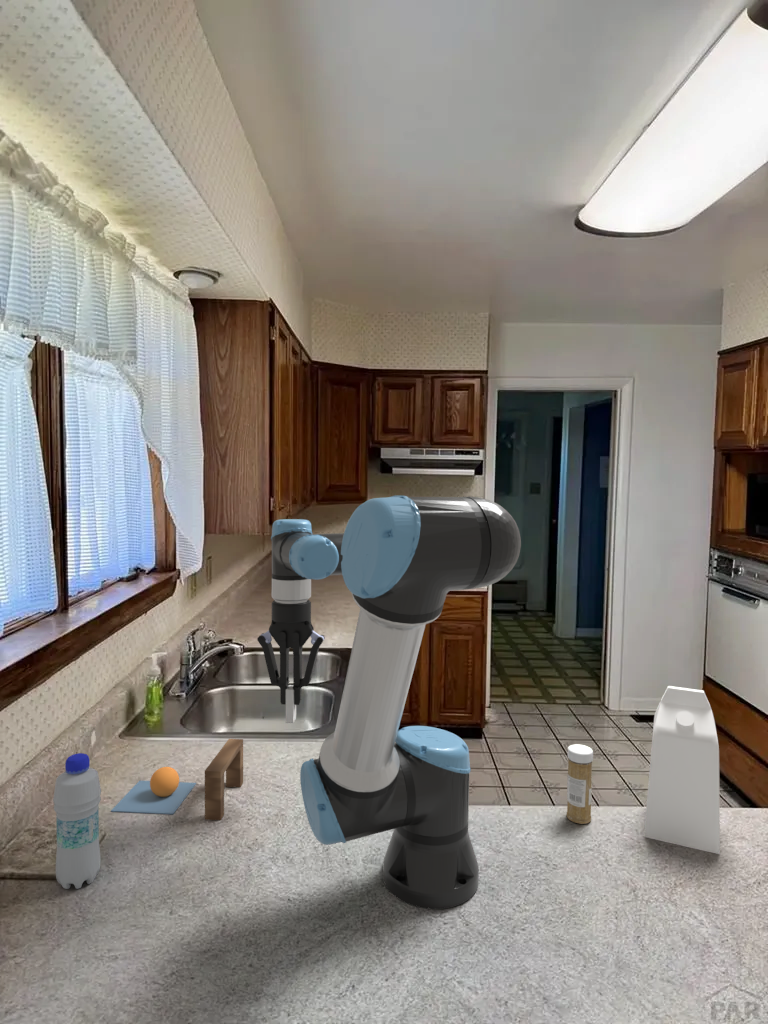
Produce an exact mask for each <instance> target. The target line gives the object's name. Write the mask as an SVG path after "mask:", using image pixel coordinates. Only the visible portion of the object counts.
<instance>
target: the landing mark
mask: <svg viewBox="0 0 768 1024" xmlns="http://www.w3.org/2000/svg"><path fill="white" fill-rule="evenodd" d="M196 785H197V782H189V781H188V782H186V781H185V782H183V781H179V785H178V787H177V789H176V790H175V791H174V792H173V793H172V794H171V795H169V796H166V797H160V796H157V795H155V794H154V793H153V792H152V790H151V788H150V780H141V779H140V780H138V782H137V783H136V784H134V786H133V787H132V788H131V789H130V790H129V791H128V792H127V793H126V794H125V795H124V796H123V798H122V799H120V800H119V801H118V802H117V804H116V805H114V807H113V808H111V810H110V812H112V813H129V814H130V813H132V814H134V813H136V814H153V815H154V814H156V815H157V814H158V815H174V814H175V812H176V811H178V809H179V808H180V806H181V804H182V803H183V802H184V801H185V799H186V798H187V797H188V796H189V794H190V793H191V792H192V790H193V789H194V787H196Z"/></svg>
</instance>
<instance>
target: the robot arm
mask: <svg viewBox="0 0 768 1024" xmlns="http://www.w3.org/2000/svg"><path fill="white" fill-rule="evenodd" d="M312 530H313V529H312V523H311V521H310V520H308V519H303V518H299V519H297V518H292V519H291V518H289V519H288V518H287V519H286V518H284V519H283V518H282V519H277V520H275V521H273V523H272V528H271V536H270V540H271V598H272V599H273V601H272V602H271V623H270V625H269V627H268V630H267V631H266V632H263V633H261V634H260V635H259V636H258V637H257V639H256V640H257V642H258V643H259V645H260V647H261V648H262V652H263V656H264V660H265V665H266V669H267V673H268V676H269V680H270V681H269V682H270V684H271V685H272V686H277V687H279V689H280V693H279V694H280V696H279V698H280V699H279V700H280V704H281V705H285V724H294V722H295V721H296V719H297V706H300V703H301V702H302V688H303V687H308V686H309V684H310V682H311V681H312V678H313V673H314V670H315V667H316V661H317V657H318V654H319V650H320V647H321V645H322V643H324V641H325V635H324V634H319V633H317V632H316V631H315V630H314V629H315V628H314V626H313V624H312V601H311V600H310V598H312V580H323V579H325V578H327V577H330V576H342V578H343V581H344V584H345V587H347V589H348V590H349V592H350V593H351V596H352V599H353V601H354V603H355V605H357V606H358V607H359V613H358V617H357V623H356V628H355V633H354V636H353V642H352V647H351V651H350V652H351V653H350V657H349V661H348V666H347V670H346V677H345V681H344V686H343V689H342V690H343V692H342V695H341V701H340V705H339V711H338V715H337V720H336V725H335V730H334V732H332V733H330V734H329V735H328V736H327V737H326V738H325V739H324V741H322V743H321V746H320V750H319V755H318V758H315V759H314V758H310V759H309V760H307V761H304V762H302V764H301V767H300V775H299V776H300V777H299V779H300V781H299V782H300V788H301V789H300V790H301V795H302V800H303V801H302V802H303V805H304V806H303V807H304V809H305V810H304V811H305V814H306V817H307V821H308V825H309V826H310V829H311V831H312V833H313V836H314V837H315V839H316V840H317V841H318V842H319V843H320V844H322V845H324V846H329V845H334V844H337V843H338V844H339V843H342V844H345V843H347V842H350V841H354V840H357V839H360V838H361V839H362V838H365V837H369V836H373V835H376V834H379V833H383V832H388V831H390V830H391V831H392V830H393V832H392V834H391V838H390V840H389V843H388V846H387V849H386V852H385V854H384V857H383V863H382V865H383V866H382V878H383V883H384V886H385V887H386V889H387V890H388V891H389V893H390V894H391V895H392V896H393V897H395V898H396V899H398V900H399V901H401V902H403V903H405V904H408V905H411V906H413V907H416V908H422V909H432V910H441V909H442V910H443V909H449V908H452V907H456V906H459V905H461V904H463V903H465V902H466V901H468V900H470V899H471V898H472V897H473V896H474V895H475V893H476V892H477V890H478V888H479V877H480V876H479V875H480V873H479V871H480V869H479V863H478V860H477V856H476V853H475V850H474V846H473V843H472V840H471V837H470V834H469V833H470V832H469V812H470V811H469V810H470V809H469V806H470V773H471V770H472V769H471V764H470V750H469V749H470V748H469V747H468V745H467V743H466V742H465V741H464V739H462V738H461V737H460V736H459V735H457V734H455V733H453V732H451V731H448V730H446V729H441V728H437V727H434V726H427V725H409V726H404V727H402V728H400V725H401V720H402V717H403V713H404V709H405V704H406V703H407V702H406V701H407V697H408V693H409V689H410V685H411V682H412V680H413V679H412V678H413V674H414V671H415V668H416V663H417V659H418V655H419V651H420V647H421V645H422V640H423V636H424V632H425V629H426V625H428V624H431V623H433V622H435V620H437V619H438V618H439V617H440V616H441V614H442V611H443V609H444V605H445V604H444V603H445V601H446V598H447V594H448V593H449V592H450V591H451V592H452V591H453V592H454V591H462V590H463V591H464V590H474V589H479V588H485V587H488V586H491V585H493V584H495V583H498V582H499V581H501V580H502V579H503V578H506V576H507V575H508V574H509V573H510V572H511V571H512V570H513V568H514V567H515V565H516V564H517V563H518V559H519V556H520V552H521V548H522V541H521V539H522V538H521V533H520V529H519V527H518V525H517V522H516V520H515V519H514V517H513V516H512V515H511V513H509V512H508V510H507V509H505V508H504V507H503V506H501V505H500V504H499V503H497V502H494V501H492V500H490V499H487V498H482V497H478V496H407V495H402V494H401V495H400V494H399V495H392V496H389V497H374V498H371V499H367V500H366V501H365V502H363V503H361V504H360V505H358V506H357V507H356V508H355V510H354V511H353V512H352V514H351V516H350V518H349V519H348V521H347V524H346V527H345V529H344V532H342V533H341V532H340V533H338V532H337V533H335V532H334V533H333V532H332V533H331V532H330V533H313V531H312ZM309 638H311V640H310V643H311V645H312V646H311V649H310V652H309V655H308V656H309V657H308V660H307V664H306V668H305V671H304V672H305V673H304V676H303V648H304V647H303V646H304V645H305V644H306V642H307V641H308V640H309ZM272 640H274V641H275V643H276V644H277V645H278V647H279V669H278V665H277V660H276V657H275V652H274V648H273V644H272ZM290 649H292V655H293V657H292V658H293V660H292V661H293V663H292V665H293V668H292V670H293V675H292V678H293V679H292V681H293V682H292V683H293V684H289V683H290ZM399 728H400V729H399Z"/></svg>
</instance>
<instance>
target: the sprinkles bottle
mask: <svg viewBox="0 0 768 1024" xmlns="http://www.w3.org/2000/svg"><path fill="white" fill-rule="evenodd" d="M593 760H594V751H593V749H592V748H591V747H589V746H587V745H585V744H579V743H578V744H577V743H575V744H570V745H569V746H568V747H567V761H568V762H567V763H568V764H567V767H568V768H567V785H566V787H567V789H566V800H567V801H566V802H567V805H566V818H567V819H568V820H569V821H571V822H572V823H575V824H579V825H583V824H584V825H585V824H586V825H587V824H589V823H590V822H591V821H592V809H591V808H592V795H593V794H592V792H593V791H592V790H593V789H592V788H593V787H592V784H593V783H592V773H593V771H592V769H593V767H592V766H593Z"/></svg>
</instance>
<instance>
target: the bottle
mask: <svg viewBox="0 0 768 1024" xmlns="http://www.w3.org/2000/svg"><path fill="white" fill-rule="evenodd" d="M64 765H65V771H64V772H62V773H61V774H59V775H58V776H57V777H56V779H55V783H54V784H55V786H54V792H53V799H52V802H53V805H54V806H53V811H54V812H55V814H56V817H55V819H56V855H55V856H56V857H55V877H56V878H55V879H56V882H57V883H58V884H60V885H61V887H62V888H63V889H65V890H69V889H70V888H71V885H74V888H75V889H78V890H79V889H81V888H82V886H83V883H84V882H85V881H86V884H87V885H89V884H91V883H93V882H94V881H95V878H96V876H97V875H98V874H99V872H100V869H101V849H100V847H101V846H100V840H99V839H100V837H99V835H100V832H99V831H100V830H99V829H100V828H99V824H100V823H99V820H100V819H99V818H100V817H99V815H100V814H99V813H100V812H99V809H100V808H99V805H100V803H101V800H102V799H101V795H102V788H101V783H100V777H99V772H98V770H97V769H95V768H93V767H90V756H89V755H88V754H86V753H82V752H80V753H79V752H78V753H74V754H71V755H69V756H68V757H67V758H66V760H65V764H64Z"/></svg>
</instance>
